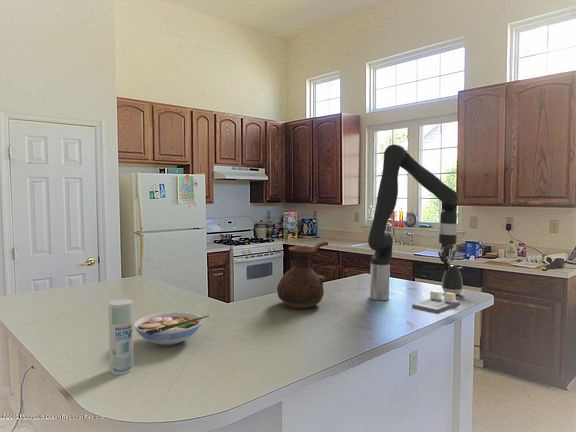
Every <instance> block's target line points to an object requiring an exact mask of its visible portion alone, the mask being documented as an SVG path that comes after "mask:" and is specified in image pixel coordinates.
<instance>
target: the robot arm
mask: <svg viewBox="0 0 576 432" xmlns="http://www.w3.org/2000/svg"><path fill="white" fill-rule="evenodd" d="M383 153H384V154H383V165H382V173H381V178H380V182H379V187H378V190H377V196H376V203H375V210H374V214H373V220H372V222H371V223H372V224H371V227H370V230H369V235H368V239H367V242H368V246H369V248H370V249H371V250H372V251H375V252H374V254H373V255H372V256H371V257H370V274H369V275H370V277H369V299H370V300H373V301H374V300H375V301H388V300H389V299H390V281H391V280H390V277H391V276H390V275H391V274H390V272H391V269H390V268H391V264H390V263H391V259H392V255H393V236H392V234H391V233H390V232H389V231H386V228H387V224H388V221H389V219H390V218H391V216H392V215H393V212H394V211H395V208H396V205H397V201H398V193H399V180H398V178H399V171H400V168H401V169H403V170H405V171H406V172H407V173H408V174H410V176H411V177H413V179H414V180H415V181H416V182H417V183H419V185H421V186H422V187H423V188H425V189H426V190H427V191H428V192H429V193H431V194H433V195H434V196H435V198H437V199H438V200H439V201H440V202H441V212H440V218H439V228H438V229H439V234H438V243H439V244H441V248H440V249H441V250H440V251H438V253H437V255H438V256H439V260H440V262H442V263H443V271H444V272H445V271H449V270H450V265H451V263H452V262H453V260H454V258H455V255H456V251H457V250H456V249H454V245H456V244H457V235H458V226H457V225H458V223H457V221H458V215H457V214H458V213H457V208H458V202H459V201H458V199H459V196H458V193H457V192H456V191H455V190H454V189H452V188H451V187H449V186H448V185H447V184H445V183H443V181H442V180H441V179H440V178H438V176H436V175H435V174H433V173H432V172H431V171H429V170H428V169H426V167H424V166H423V165H421V164H420V163H419V162H418V161H416V160H415V159H414V158H413V156H411V155H410V154H409V152H408V151H407V150H406V149H405V148H404V146H402V145H400V144H395V143H393V144H389V146H387V147H386V148H385V150H384V152H383Z"/></svg>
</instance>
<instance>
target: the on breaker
mask: <svg viewBox="0 0 576 432" xmlns="http://www.w3.org/2000/svg"><path fill="white" fill-rule="evenodd" d="M429 292H430V295H429V298H431V299H436V300H439V299H441V297H442V291H439V290H435V289H433V290H430V291H429Z"/></svg>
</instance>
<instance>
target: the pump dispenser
mask: <svg viewBox="0 0 576 432" xmlns="http://www.w3.org/2000/svg"><path fill="white" fill-rule="evenodd" d="M463 269H464V267H463V266H460V267H458V266H456V264H450V270H449V271H444V273H443V276H442V281H441V288H442V291H443V292H444V293H446V292H449V293H455V294H456V296H458V295H460V294H461V293H462V290H463V289H464V285H463V283H464V282H463V276H462V273H461V270H463Z"/></svg>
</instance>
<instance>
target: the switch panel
mask: <svg viewBox="0 0 576 432" xmlns="http://www.w3.org/2000/svg"><path fill="white" fill-rule="evenodd" d="M460 303H461V301H460V300H456V301H455V302H453V303H451V302H446V301H444V297H442V296H441V299H439V300H436V299H431V298H430V297H429V298H427V299H423V300H421V301H417V302H414V303H412V304H411V307H413V308H412V309H417V310H421V309H422V311H425V310H426V312H431V313H435V314H438V313H440V312H441V313H442V312H443V311H446V310H448V309H452V308H454V307H456V306H458V305H461V304H460Z"/></svg>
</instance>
